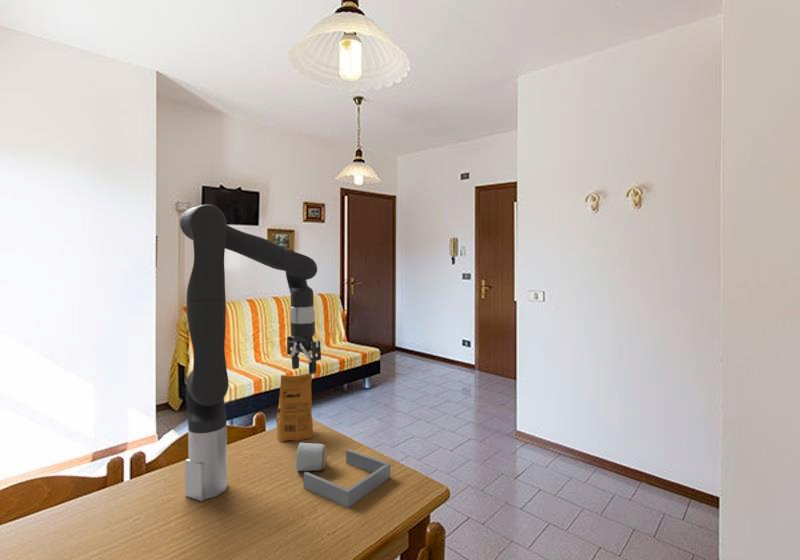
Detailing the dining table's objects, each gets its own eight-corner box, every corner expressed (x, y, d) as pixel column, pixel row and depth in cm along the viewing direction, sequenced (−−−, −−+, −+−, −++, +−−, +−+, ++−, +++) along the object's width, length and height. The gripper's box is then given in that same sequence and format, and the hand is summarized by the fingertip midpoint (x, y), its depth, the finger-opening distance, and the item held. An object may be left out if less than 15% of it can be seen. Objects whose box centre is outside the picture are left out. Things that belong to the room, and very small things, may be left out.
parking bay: (347, 507, 102) (348, 492, 102) (303, 487, 111) (303, 473, 111) (390, 477, 117) (390, 463, 117) (348, 461, 126) (348, 449, 126)
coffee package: (276, 432, 148) (276, 371, 148) (312, 429, 151) (312, 369, 151) (275, 443, 139) (275, 379, 138) (313, 440, 142) (313, 376, 141)
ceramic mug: (324, 474, 118) (324, 448, 118) (295, 476, 118) (295, 449, 117) (327, 458, 129) (327, 434, 129) (301, 459, 128) (301, 434, 128)
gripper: (279, 319, 131) (280, 369, 132) (307, 324, 122) (308, 378, 123) (298, 316, 137) (299, 364, 138) (326, 321, 128) (327, 372, 129)
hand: (304, 370), depth 130 cm, fingers open, 8 cm apart
